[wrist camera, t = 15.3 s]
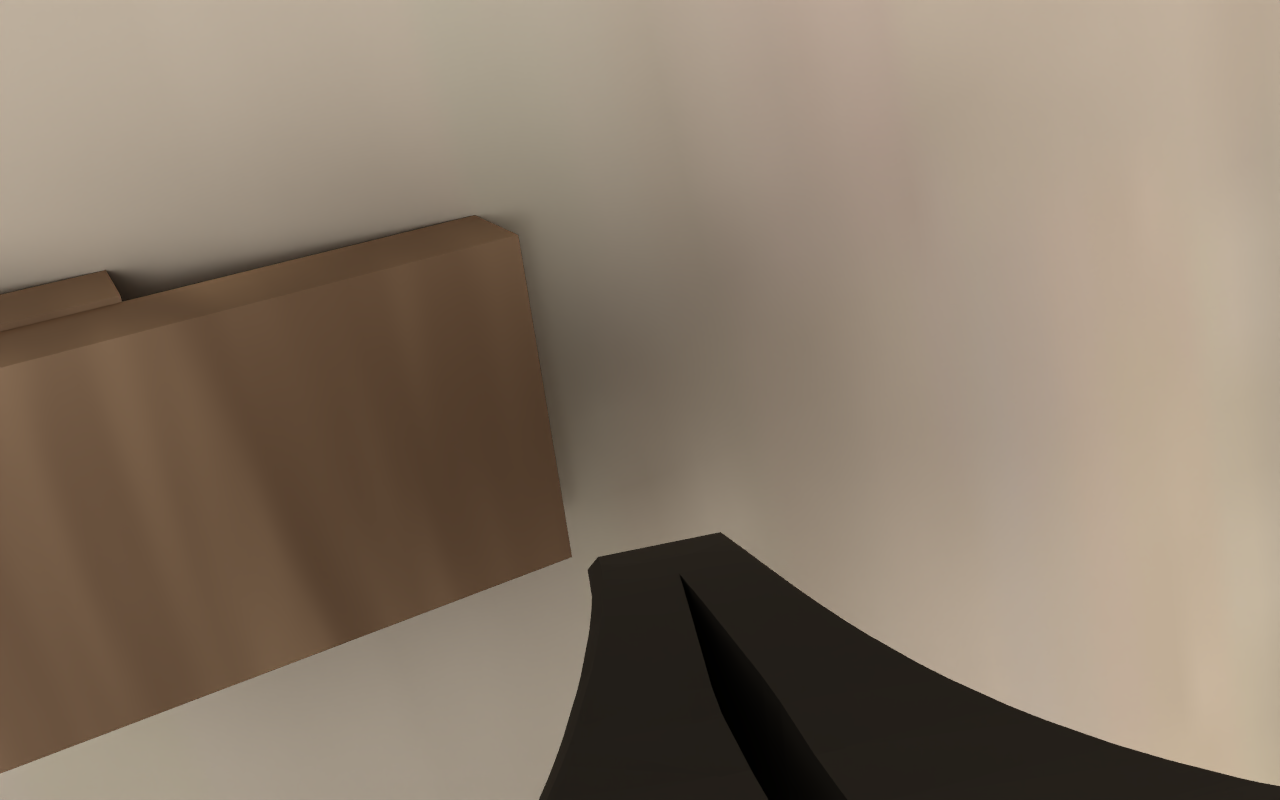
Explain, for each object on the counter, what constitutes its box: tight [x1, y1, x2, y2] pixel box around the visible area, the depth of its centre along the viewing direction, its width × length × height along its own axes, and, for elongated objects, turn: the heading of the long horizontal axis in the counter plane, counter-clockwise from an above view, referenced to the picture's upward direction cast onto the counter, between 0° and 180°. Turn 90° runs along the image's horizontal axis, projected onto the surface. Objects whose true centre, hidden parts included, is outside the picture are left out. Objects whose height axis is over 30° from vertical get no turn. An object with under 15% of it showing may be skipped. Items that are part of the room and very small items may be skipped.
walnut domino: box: [0, 215, 572, 773], centre depth 16 cm, size 2×5×8 cm
